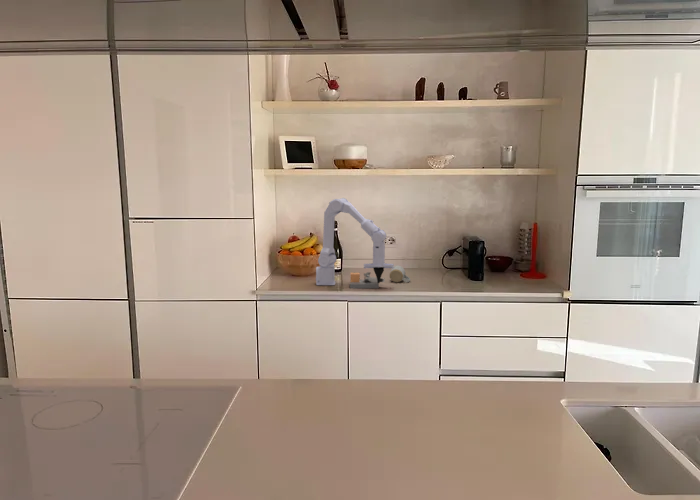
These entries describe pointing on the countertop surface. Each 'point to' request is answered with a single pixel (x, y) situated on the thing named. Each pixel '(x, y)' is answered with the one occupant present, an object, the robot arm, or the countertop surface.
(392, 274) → the ceramic mug
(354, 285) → the box
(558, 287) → the countertop surface
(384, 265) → the robot arm
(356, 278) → the orange cube
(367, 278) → the lever handle
